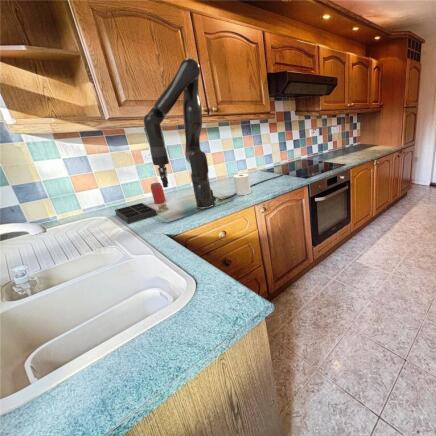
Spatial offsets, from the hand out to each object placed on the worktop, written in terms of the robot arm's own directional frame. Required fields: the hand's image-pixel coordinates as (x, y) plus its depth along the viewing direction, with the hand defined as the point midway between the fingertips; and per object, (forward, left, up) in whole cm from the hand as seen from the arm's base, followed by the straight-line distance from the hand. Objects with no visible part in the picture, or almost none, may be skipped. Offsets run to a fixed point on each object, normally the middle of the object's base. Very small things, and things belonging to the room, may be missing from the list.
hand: (166, 185), depth 140 cm
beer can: (-3, -25, -16) cm, 30 cm away
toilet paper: (-46, +5, -16) cm, 49 cm away
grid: (+15, -13, -16) cm, 25 cm away
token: (+2, -8, -16) cm, 18 cm away
